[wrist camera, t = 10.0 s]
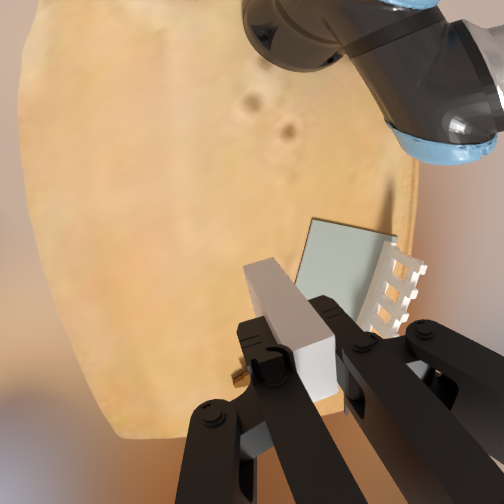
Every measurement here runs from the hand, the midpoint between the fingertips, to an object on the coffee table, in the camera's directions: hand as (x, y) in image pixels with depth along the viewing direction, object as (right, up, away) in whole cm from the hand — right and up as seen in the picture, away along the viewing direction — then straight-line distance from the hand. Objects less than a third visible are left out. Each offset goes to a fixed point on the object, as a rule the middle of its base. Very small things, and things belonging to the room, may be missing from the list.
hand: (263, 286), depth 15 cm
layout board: (+14, -6, +34) cm, 37 cm away
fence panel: (+21, -5, +34) cm, 41 cm away
